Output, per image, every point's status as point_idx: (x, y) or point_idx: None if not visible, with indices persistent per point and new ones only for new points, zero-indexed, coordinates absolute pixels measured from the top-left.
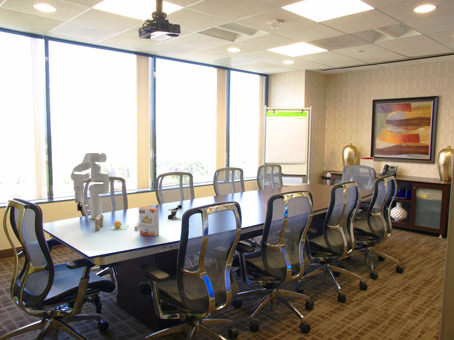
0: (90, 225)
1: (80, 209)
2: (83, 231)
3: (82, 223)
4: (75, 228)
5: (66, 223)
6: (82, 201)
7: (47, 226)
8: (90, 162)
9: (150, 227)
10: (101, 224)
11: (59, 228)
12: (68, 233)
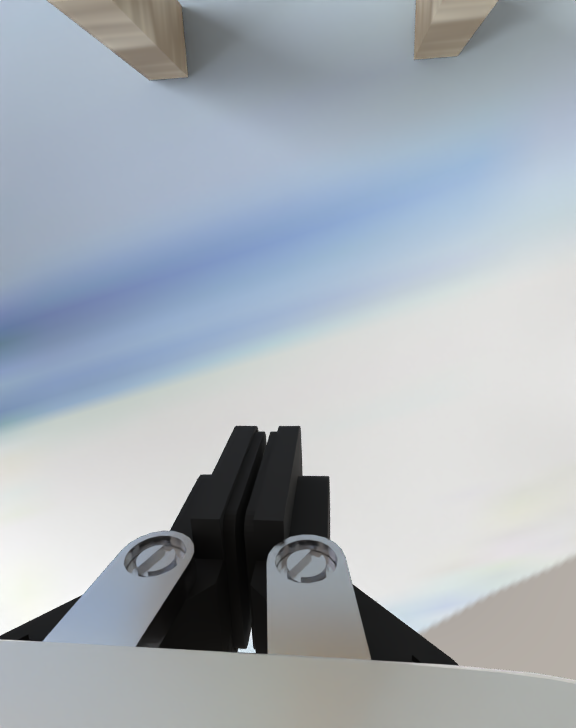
0: (112, 253)
1: (299, 470)
2: (474, 245)
3: (10, 399)
4: (280, 410)
5: (31, 577)
6: (292, 684)
7: None
8: None
9: None
10: (170, 14)
11: None
12: (550, 421)
